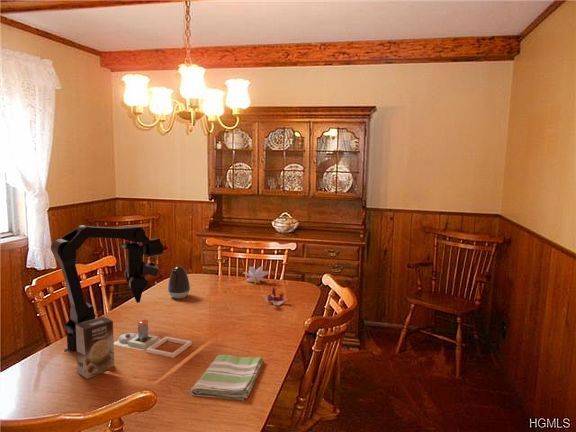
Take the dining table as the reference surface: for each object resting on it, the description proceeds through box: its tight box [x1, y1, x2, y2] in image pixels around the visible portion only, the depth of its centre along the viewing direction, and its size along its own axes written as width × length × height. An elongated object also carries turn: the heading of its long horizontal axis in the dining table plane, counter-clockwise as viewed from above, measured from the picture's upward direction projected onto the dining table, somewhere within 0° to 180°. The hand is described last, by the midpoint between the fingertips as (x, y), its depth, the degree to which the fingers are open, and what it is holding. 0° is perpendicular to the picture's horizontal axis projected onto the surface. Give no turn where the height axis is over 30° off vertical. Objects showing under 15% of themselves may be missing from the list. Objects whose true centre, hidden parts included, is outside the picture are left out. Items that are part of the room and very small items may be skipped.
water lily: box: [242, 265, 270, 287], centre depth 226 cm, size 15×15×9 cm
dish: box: [145, 336, 193, 359], centre depth 149 cm, size 11×11×2 cm
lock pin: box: [137, 319, 150, 342], centre depth 152 cm, size 4×4×8 cm
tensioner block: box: [114, 332, 162, 352], centre depth 154 cm, size 10×14×3 cm
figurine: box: [261, 285, 288, 307], centre depth 197 cm, size 15×12×7 cm
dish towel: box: [190, 354, 265, 401], centre depth 132 cm, size 17×23×4 cm
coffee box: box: [76, 316, 115, 380], centre depth 134 cm, size 9×6×16 cm
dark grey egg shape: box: [167, 265, 191, 300], centre depth 204 cm, size 10×10×15 cm
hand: (136, 298), depth 163 cm, fingers open, 9 cm apart
